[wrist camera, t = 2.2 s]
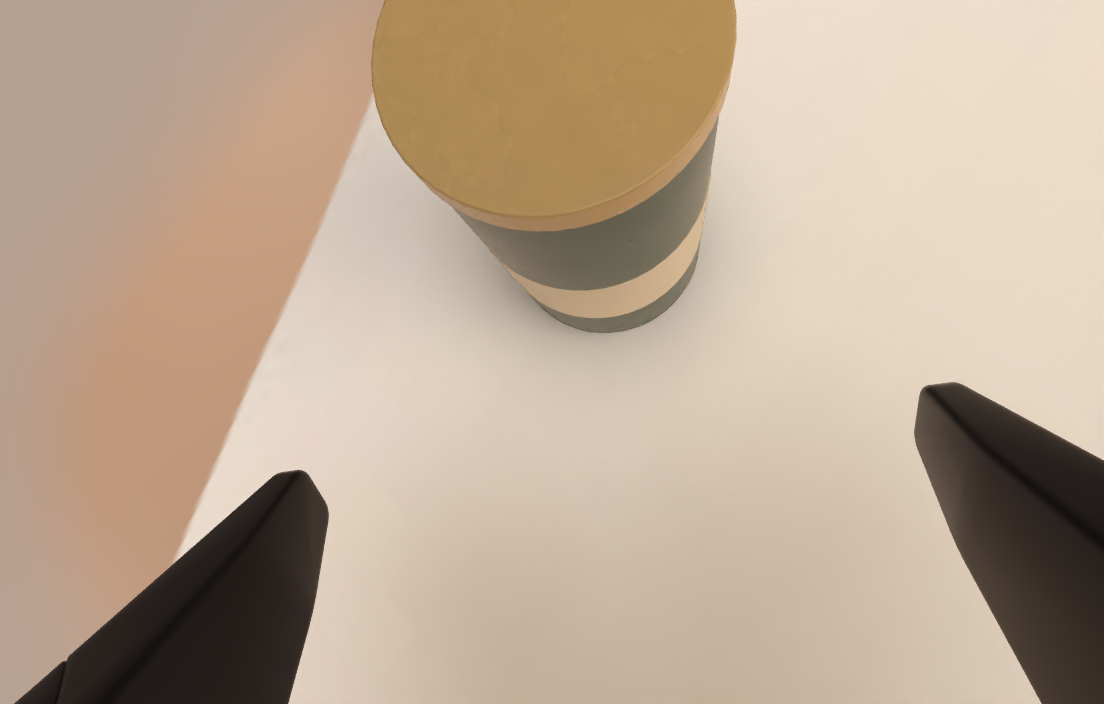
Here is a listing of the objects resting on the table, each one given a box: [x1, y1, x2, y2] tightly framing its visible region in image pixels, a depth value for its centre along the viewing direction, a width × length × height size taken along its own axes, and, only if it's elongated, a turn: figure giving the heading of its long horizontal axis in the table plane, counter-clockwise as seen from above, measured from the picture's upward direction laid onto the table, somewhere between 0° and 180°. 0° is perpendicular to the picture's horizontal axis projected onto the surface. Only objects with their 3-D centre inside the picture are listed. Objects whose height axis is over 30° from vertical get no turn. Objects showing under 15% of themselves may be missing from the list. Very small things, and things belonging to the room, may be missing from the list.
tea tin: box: [371, 0, 736, 333], centre depth 18 cm, size 7×7×12 cm
